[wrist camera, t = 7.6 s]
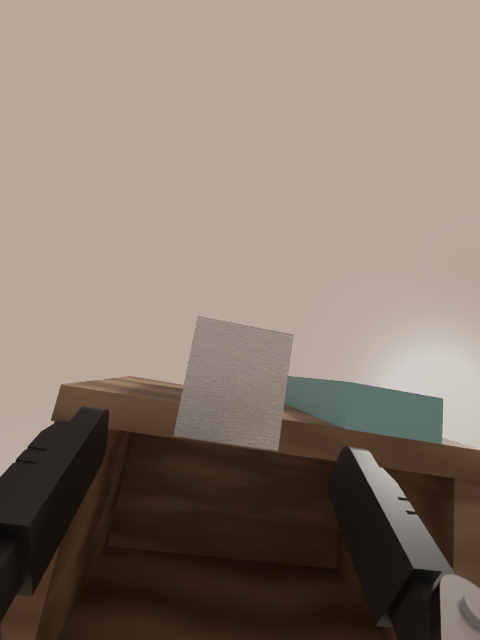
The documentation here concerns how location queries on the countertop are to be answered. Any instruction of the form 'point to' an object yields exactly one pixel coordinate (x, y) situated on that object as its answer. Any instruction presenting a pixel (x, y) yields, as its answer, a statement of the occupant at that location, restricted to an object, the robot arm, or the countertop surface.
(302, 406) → the teal base block
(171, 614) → the walnut shelf
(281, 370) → the metal bar
